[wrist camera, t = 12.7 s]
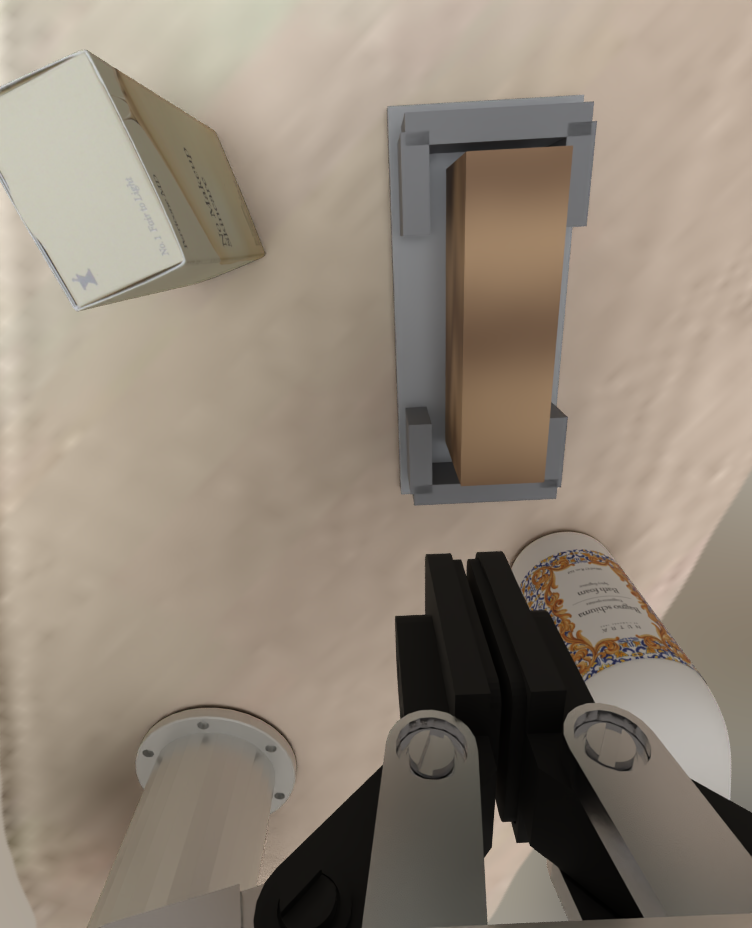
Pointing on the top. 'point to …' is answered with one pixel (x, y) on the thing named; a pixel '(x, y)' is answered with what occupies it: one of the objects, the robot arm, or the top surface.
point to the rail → (424, 270)
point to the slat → (503, 309)
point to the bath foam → (626, 650)
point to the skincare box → (118, 184)
